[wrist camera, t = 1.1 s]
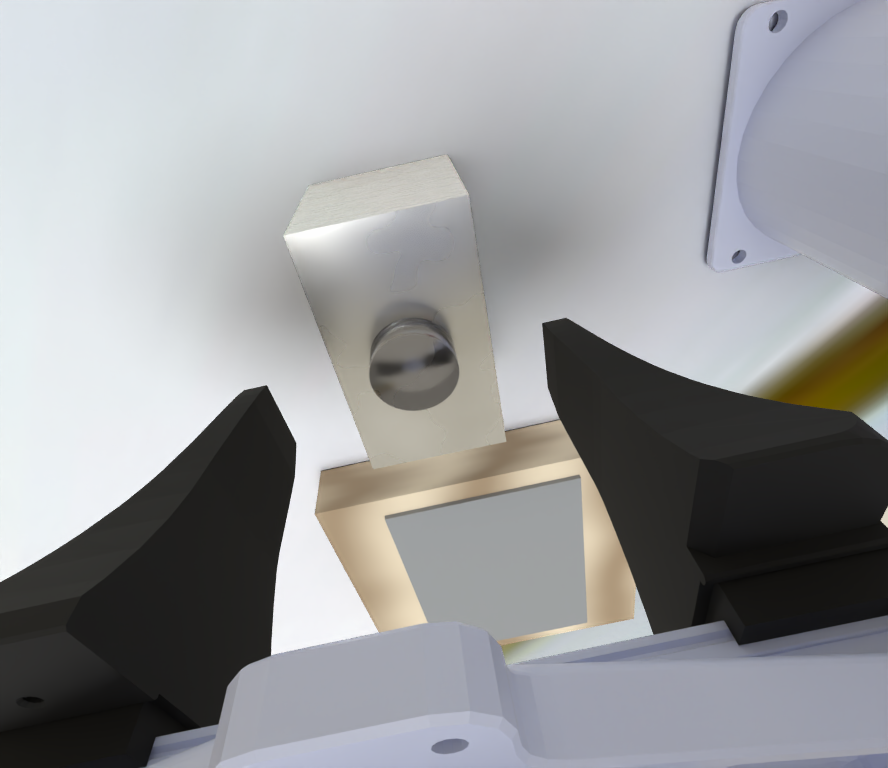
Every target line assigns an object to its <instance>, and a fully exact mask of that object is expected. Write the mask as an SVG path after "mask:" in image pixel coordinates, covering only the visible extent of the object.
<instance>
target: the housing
mask: <svg viewBox="0 0 888 768" xmlns="http://www.w3.org/2000/svg"><path fill="white" fill-rule="evenodd" d="M283 237H284V239H285V242H286V245H287V247H288V250H289V252H290V255H291V258H292V260H293V263H294V265H295V268H296V271H297V273H298V276H299V278H300V281H301V284H302V286H303V289H304V291H305V294H306V296H307V299H308V302H309V304H310V307H311V309H312V312H313V315H314V317H315V320H316V322H317V325H318V328H319V330H320V333H321V335H322V338H323V341H324V343H325V346H326V348H327V351H328V354H329V356H330V359H331V361H332V364H333V367H334V369H335V372H336V374H337V377H338V379H339V382H340V385H341V387H342V390H343V392H344V395H345V398H346V400H347V403H348V405H349V408H350V411H351V413H352V416H353V418H354V421H355V424H356V426H357V429H358V431H359V434H360V437H361V439H362V442H363V444H364V447H365V449H366V452H367V455H368V457H369V460H370V462H371V465H372V468H373V469H377V468H382V467H387V466H392V465H396V464H401V463H406V462H411V461H416V460H421V459H425V458H430V457H435V456H440V455H445V454H449V453H454V452H459V451H464V450H469V449H474V448H478V447H483V446H488V445H493V444H498V443H503V442H506V436H505V430H504V423H503V416H502V410H501V403H500V396H499V390H498V383H497V376H496V370H495V363H494V357H493V350H492V343H491V337H490V330H489V323H488V317H487V310H486V303H485V297H484V290H483V284H482V277H481V270H480V264H479V257H478V250H477V244H476V237H475V231H474V224H473V217H472V211H471V204H470V197H469V194H468V192H467V190H466V188H465V186H464V184H463V183H462V181H461V179H460V177H459V175H458V173H457V171H456V170H455V168H454V166H453V164H452V162H451V160H450V158H449V157H448V155H442V156H438V157H433V158H429V159H424V160H420V161H415V162H411V163H406V164H402V165H397V166H393V167H388V168H384V169H380V170H375V171H371V172H366V173H362V174H357V175H353V176H348V177H344V178H339V179H335V180H330V181H326V182H321V183H317V184H312V185H309V186H308V188H307V190H306V192H305V194H304V196H303V198H302V200H301V201H300V203H299V205H298V207H297V209H296V211H295V213H294V215H293V217H292V219H291V221H290V223H289V225H288V227H287V229H286V231H285V233H284V235H283Z"/></svg>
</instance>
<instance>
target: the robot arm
mask: <svg viewBox="0 0 888 768" xmlns="http://www.w3.org/2000/svg"><path fill="white" fill-rule="evenodd" d="M775 12H777V13H778V19H779V20H778V23H777V25H776V27H775V28H774V29H773V30H772V31H770V30H769V21H770V19H771V17H772V16H773V14H774V13H775ZM739 250H740V252H739V255H738V256H737V257H736V258H734V259H732V256H733V254H734V253H735V252H736V251H739ZM801 254H803V255H804V256H806V257H808V258H810V259H812V260H814V261H816V262H818V263H820V264H822V265H824V266H826V267H827V268H829V269H831V270H833V271H835V272H837V273H839V274H841V275H843V276H845V277H847V278H849V279H850V280H852V281H854V282H856V283H858V284H860V285H862V286H864V287H866V288H868V289H870V290H872V291H873V292H875V293H877V294H879V295H881V296H883V297H885V298H887V299H888V0H772V1H768V2H764V3H760V4H756V5H754V6H751V7H749V8H748V9H747V10H746V11H745V12H744V13H743V14H742V16H741V17H740V19H739V21H738V23H737V26H736V30H735V38H734V46H733V53H732V61H731V69H730V77H729V85H728V93H727V101H726V109H725V117H724V125H723V133H722V141H721V149H720V157H719V165H718V173H717V181H716V188H715V196H714V204H713V212H712V220H711V228H710V236H709V244H708V252H707V265H708V266H709V267H710V268H711V269H712V270H714V271H716V272H725V271H729V270H734V269H738V268H743V267H747V266H752V265H756V264H761V263H765V262H770V261H774V260H779V259H783V258H788V257H792V256H797V255H801ZM542 326H543V337H544V349H545V360H546V371H547V382H548V389H549V392H550V394H551V397H552V400H553V403H554V405H555V408H556V411H557V413H558V416H559V418H560V420H561V422H562V424H563V426H564V428H565V430H566V432H567V434H568V435H569V437H570V439H571V441H572V443H573V445H574V447H575V448H576V450H577V452H578V454H579V456H580V458H581V459H582V461H583V463H584V465H585V467H586V469H587V470H588V472H589V474H590V476H591V478H592V480H593V481H594V483H595V485H596V487H597V489H598V492H599V494H600V496H601V498H602V500H603V502H604V505H605V507H606V510H607V512H608V515H609V517H610V520H611V522H612V525H613V527H614V530H615V532H616V535H617V537H618V540H619V542H620V545H621V547H622V550H623V553H624V555H625V558H626V560H627V563H628V565H629V568H630V571H631V573H632V576H633V579H634V582H635V584H636V587H637V590H638V592H639V595H640V598H641V601H642V603H643V606H644V609H645V612H646V614H647V617H648V620H649V623H650V626H651V629H652V632H653V634H654V635H650V636H645V637H640V638H635V639H631V640H626V641H621V642H616V643H611V644H606V645H601V646H597V647H592V648H587V649H582V650H577V651H572V652H567V653H563V654H558V655H553V656H548V657H543V658H538V659H533V660H529V661H524V662H519V663H514V664H509V665H506V663H505V659H504V656H503V652H502V648H501V646H500V645H499V644H498V643H497V641H496V640H495V639H494V638H493V637H492V636H491V635H490V634H489V633H488V632H487V631H485V630H484V629H482V628H479V627H475V626H472V625H468V624H464V623H460V622H456V621H452V622H437V623H423V624H418V625H413V626H408V627H404V628H399V629H394V630H389V631H384V632H380V633H375V634H370V635H365V636H360V637H356V638H351V639H346V640H341V641H337V642H332V643H327V644H322V645H317V646H313V647H308V648H303V649H298V650H294V651H289V652H284V653H279V654H275V655H272V656H271V639H272V623H273V606H274V595H275V583H276V572H277V564H278V558H279V552H280V547H281V542H282V537H283V532H284V528H285V523H286V518H287V513H288V508H289V504H290V498H291V493H292V488H293V483H294V478H295V464H296V442H295V440H294V438H293V436H292V434H291V432H290V430H289V428H288V426H287V424H286V422H285V420H284V418H283V416H282V414H281V412H280V410H279V408H278V406H277V404H276V402H275V400H274V398H273V396H272V395H271V393H270V391H269V389H268V387H267V385H266V386H261V387H257V388H253V389H248V390H244V391H243V392H242V393H240V394H239V395H238V396H237V397H236V398H235V399H234V400H233V401H232V402H231V403H230V404H229V405H228V406H227V407H226V408H225V409H224V410H223V411H222V412H221V413H220V414H219V415H218V416H217V417H216V418H215V419H214V420H213V421H212V422H211V423H210V424H209V425H208V426H207V427H206V428H205V430H204V431H203V432H202V433H201V434H200V435H199V436H198V437H197V438H196V439H195V440H194V441H193V442H192V443H191V444H190V445H189V446H188V447H187V448H186V449H185V450H184V451H183V452H181V453H180V454H179V455H178V456H177V457H176V458H175V459H174V460H173V461H172V462H171V463H170V464H169V465H168V466H167V467H166V468H165V469H164V470H163V471H161V472H160V473H159V474H158V475H157V476H156V477H155V478H154V479H152V480H151V481H150V482H149V483H148V484H147V485H145V486H144V487H143V488H142V489H141V490H139V491H138V492H137V493H136V494H134V495H133V496H132V497H131V498H129V499H128V500H127V501H126V502H124V503H123V504H122V505H120V506H119V507H118V508H116V509H115V510H114V511H112V512H111V513H109V514H108V515H107V516H105V517H104V518H102V519H101V520H100V521H98V522H97V523H95V524H94V525H93V526H91V527H90V528H88V529H87V530H86V531H84V532H83V533H81V534H80V535H78V536H77V537H75V538H74V539H72V540H71V541H69V542H68V543H66V544H64V545H63V546H61V547H60V548H58V549H57V550H55V551H53V552H52V553H50V554H48V555H47V556H45V557H44V558H42V559H40V560H39V561H37V562H35V563H34V564H32V565H30V566H29V567H27V568H25V569H23V570H22V571H20V572H18V573H17V574H15V575H13V576H11V577H9V578H7V579H5V580H4V581H2V582H0V768H888V528H887V527H886V526H885V525H884V524H883V523H882V522H881V521H880V520H881V518H882V516H883V514H884V512H885V510H886V509H887V507H888V440H887V439H885V438H884V437H883V436H882V435H880V434H879V433H878V432H877V431H875V430H874V429H873V428H872V427H870V426H869V425H868V424H867V423H865V422H864V421H863V420H861V419H860V418H859V417H858V416H856V415H855V414H854V413H852V412H847V411H840V410H832V409H825V408H817V407H809V406H802V405H794V404H788V403H783V402H778V401H773V400H768V399H762V398H757V397H753V396H748V395H744V394H740V393H736V392H732V391H728V390H725V389H721V388H717V387H714V386H710V385H706V384H703V383H700V382H697V381H694V380H691V379H688V378H685V377H683V376H680V375H677V374H674V373H672V372H669V371H666V370H664V369H661V368H659V367H657V366H654V365H652V364H650V363H648V362H646V361H643V360H641V359H639V358H637V357H635V356H633V355H631V354H629V353H627V352H625V351H623V350H621V349H619V348H617V347H615V346H614V345H612V344H610V343H608V342H606V341H605V340H603V339H601V338H599V337H598V336H596V335H594V334H593V333H591V332H589V331H588V330H586V329H584V328H583V327H581V326H579V325H578V324H576V323H574V322H573V321H571V320H569V319H567V318H564V319H559V320H555V321H550V322H546V323H542Z"/></svg>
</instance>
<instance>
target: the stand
mask: <svg viewBox="0 0 888 768" xmlns="http://www.w3.org/2000/svg"><path fill="white" fill-rule="evenodd" d="M505 436H506V442H503V443H498V444H493V445H488V446H483V447H478V448H474V449H469V450H464V451H459V452H454V453H449V454H445V455H440V456H435V457H430V458H425V459H421V460H416V461H411V462H406V463H401V464H396V465H392V466H387V467H382V468H377V469H373V468H372V465H371V462H370V461H367V462H362V463H357V464H353V465H348V466H344V467H339V468H334V469H330V470H325V471H321V475H320V482H319V489H318V496H317V502H316V509H315V515H316V517H317V519H318V521H319V523H320V525H321V526H322V528H323V530H324V532H325V534H326V536H327V537H328V539H329V541H330V543H331V545H332V547H333V549H334V550H335V552H336V554H337V556H338V558H339V560H340V561H341V563H342V565H343V567H344V569H345V571H346V572H347V574H348V576H349V578H350V580H351V582H352V584H353V585H354V587H355V589H356V591H357V593H358V595H359V596H360V598H361V600H362V602H363V604H364V606H365V607H366V609H367V611H368V613H369V615H370V617H371V618H372V620H373V622H374V624H375V626H376V628H377V630H378V631H379V633H380V632H384V631H389V630H394V629H399V628H404V627H408V626H413V625H418V624H423V623H437V622H452V621H456V622H460V623H464V624H468V625H472V626H475V627H479V628H482V629H484V630H485V631H487V632H488V633H489V634H490V635H491V636H492V637H493V638H494V639H495V640H496V641H497V643H498V644H499V645H505V644H510V643H515V642H520V641H525V640H530V639H535V638H540V637H545V636H550V635H555V634H560V633H565V632H570V631H575V630H580V629H585V628H590V627H595V626H599V625H604V624H609V623H614V622H619V621H624V620H629V619H634V606H635V590H636V584H635V582H634V579H633V576H632V573H631V571H630V568H629V565H628V563H627V560H626V558H625V555H624V553H623V550H622V547H621V545H620V542H619V540H618V537H617V535H616V532H615V530H614V527H613V525H612V522H611V520H610V517H609V515H608V512H607V510H606V507H605V505H604V502H603V500H602V498H601V496H600V494H599V492H598V489H597V487H596V485H595V483H594V481H593V480H592V478H591V476H590V474H589V472H588V470H587V469H586V467H585V465H584V463H583V461H582V459H581V458H580V456H579V454H578V452H577V450H576V448H575V447H574V445H573V443H572V441H571V439H570V437H569V435H568V434H567V432H566V430H565V428H564V426H563V424H562V422H561V420H557V421H552V422H548V423H543V424H539V425H534V426H529V427H525V428H520V429H515V430H511V431H506V432H505Z"/></svg>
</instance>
